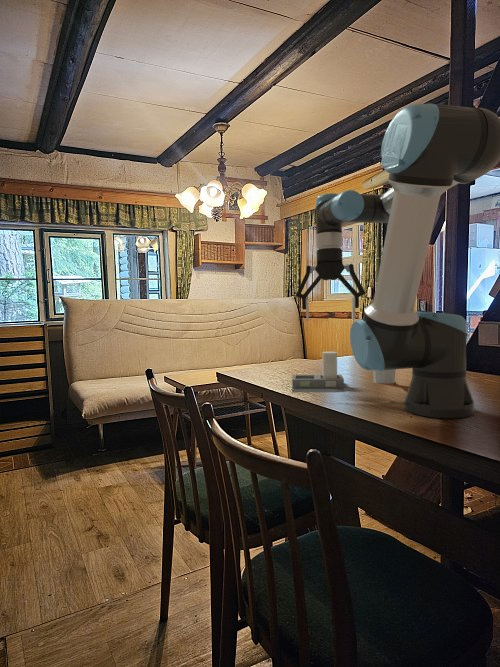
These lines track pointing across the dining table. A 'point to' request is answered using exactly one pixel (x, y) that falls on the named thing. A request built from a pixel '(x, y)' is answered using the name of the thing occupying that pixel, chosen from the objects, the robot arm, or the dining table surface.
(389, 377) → the cup
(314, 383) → the panel
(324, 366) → the plug
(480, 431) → the dining table surface
